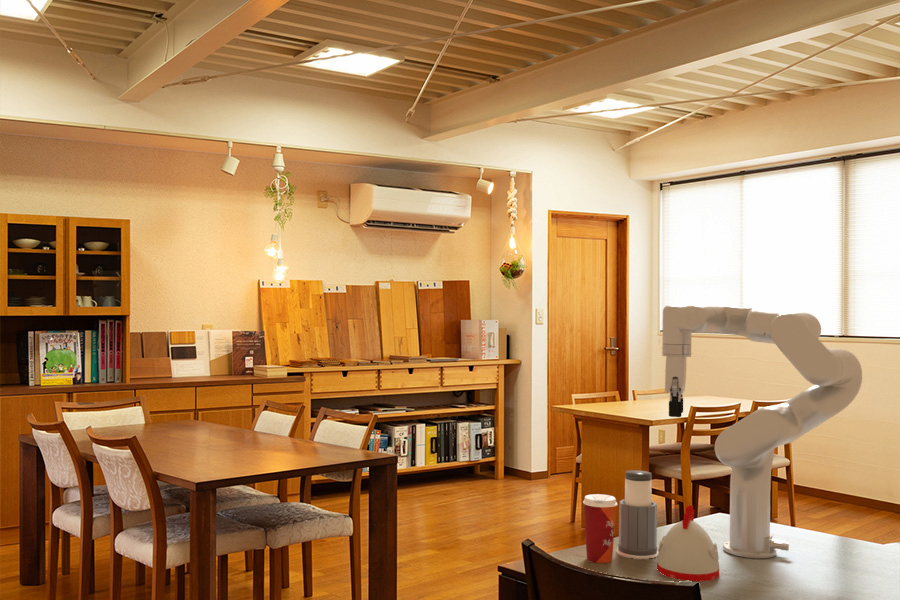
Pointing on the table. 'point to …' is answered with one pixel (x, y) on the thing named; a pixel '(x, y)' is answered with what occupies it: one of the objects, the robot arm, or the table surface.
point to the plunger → (638, 488)
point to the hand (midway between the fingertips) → (676, 414)
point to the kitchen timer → (688, 552)
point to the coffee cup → (599, 527)
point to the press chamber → (637, 531)
